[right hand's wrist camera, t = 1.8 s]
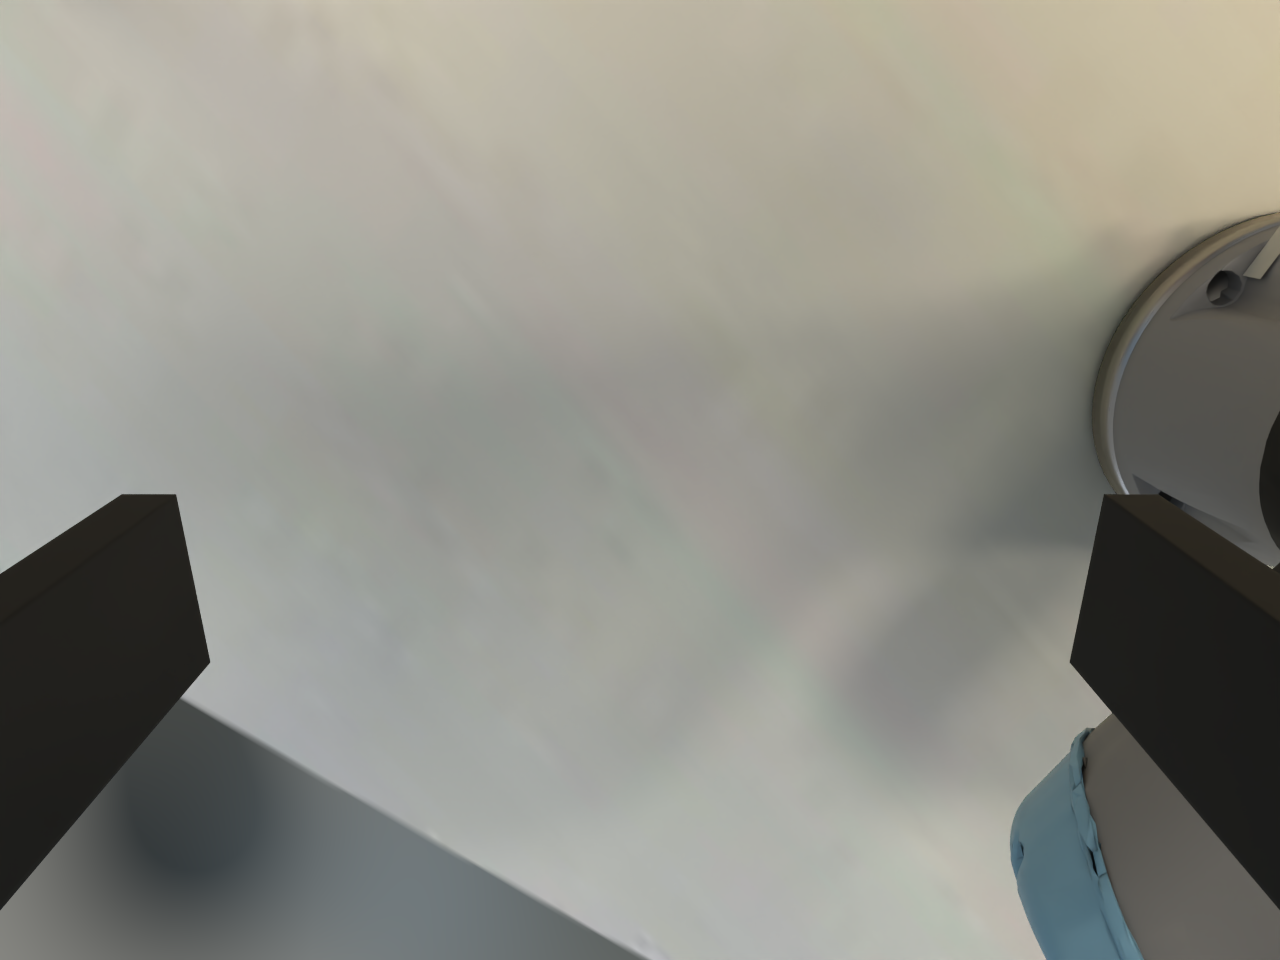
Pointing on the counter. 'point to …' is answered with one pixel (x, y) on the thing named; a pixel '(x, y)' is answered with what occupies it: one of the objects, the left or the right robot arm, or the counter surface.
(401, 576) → the counter surface
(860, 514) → the counter surface
